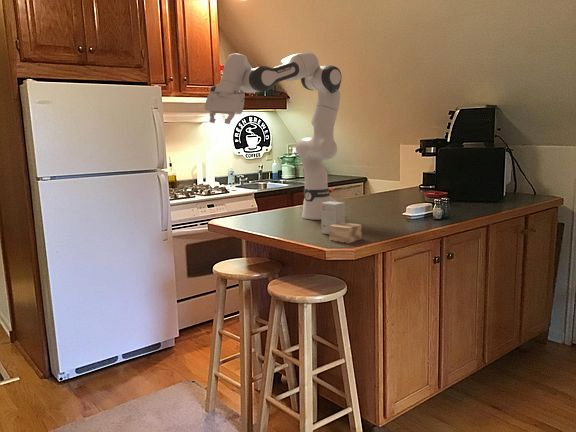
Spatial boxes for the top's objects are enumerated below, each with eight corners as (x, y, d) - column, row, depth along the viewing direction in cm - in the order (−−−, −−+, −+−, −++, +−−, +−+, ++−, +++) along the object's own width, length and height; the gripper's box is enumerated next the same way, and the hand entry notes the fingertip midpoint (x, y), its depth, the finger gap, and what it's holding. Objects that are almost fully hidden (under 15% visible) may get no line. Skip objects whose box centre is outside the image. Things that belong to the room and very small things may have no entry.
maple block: (342, 236, 212) (342, 222, 211) (361, 239, 207) (361, 224, 206) (329, 240, 206) (329, 225, 205) (348, 243, 200) (348, 228, 199)
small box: (345, 233, 218) (345, 202, 215) (336, 235, 213) (336, 204, 211) (330, 231, 223) (330, 200, 221) (320, 233, 218) (320, 202, 216)
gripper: (250, 94, 212) (241, 126, 211) (217, 94, 225) (209, 124, 224) (240, 88, 207) (231, 121, 206) (207, 88, 220) (198, 119, 219)
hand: (219, 123), depth 215 cm, fingers open, 8 cm apart
